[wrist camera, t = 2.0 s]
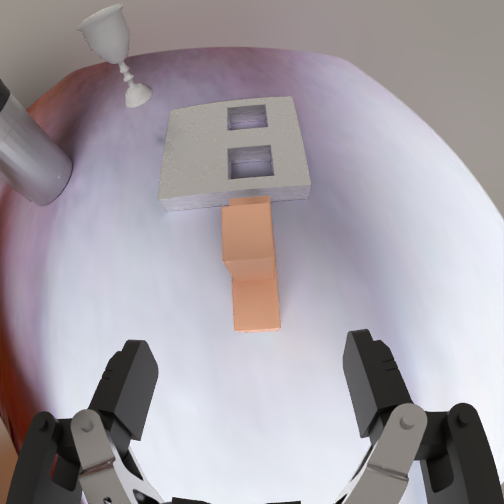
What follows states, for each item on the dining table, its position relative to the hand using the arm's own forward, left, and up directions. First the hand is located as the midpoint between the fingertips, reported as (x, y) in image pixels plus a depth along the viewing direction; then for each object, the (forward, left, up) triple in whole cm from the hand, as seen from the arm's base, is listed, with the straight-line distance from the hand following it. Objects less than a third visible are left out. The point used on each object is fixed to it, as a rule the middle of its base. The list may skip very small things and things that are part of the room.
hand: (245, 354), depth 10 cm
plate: (-2, +22, -16) cm, 27 cm away
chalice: (-18, +38, -16) cm, 45 cm away
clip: (0, +6, -16) cm, 17 cm away
